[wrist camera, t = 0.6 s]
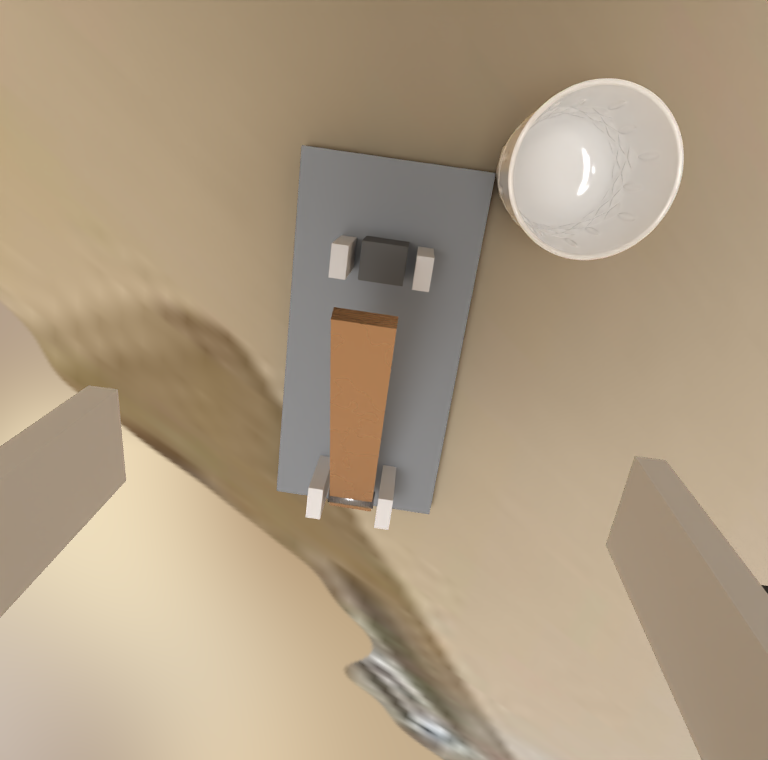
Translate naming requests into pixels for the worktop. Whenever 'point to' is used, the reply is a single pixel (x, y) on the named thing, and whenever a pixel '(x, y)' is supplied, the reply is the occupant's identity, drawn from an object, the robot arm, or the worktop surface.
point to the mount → (380, 310)
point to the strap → (358, 402)
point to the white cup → (592, 169)
